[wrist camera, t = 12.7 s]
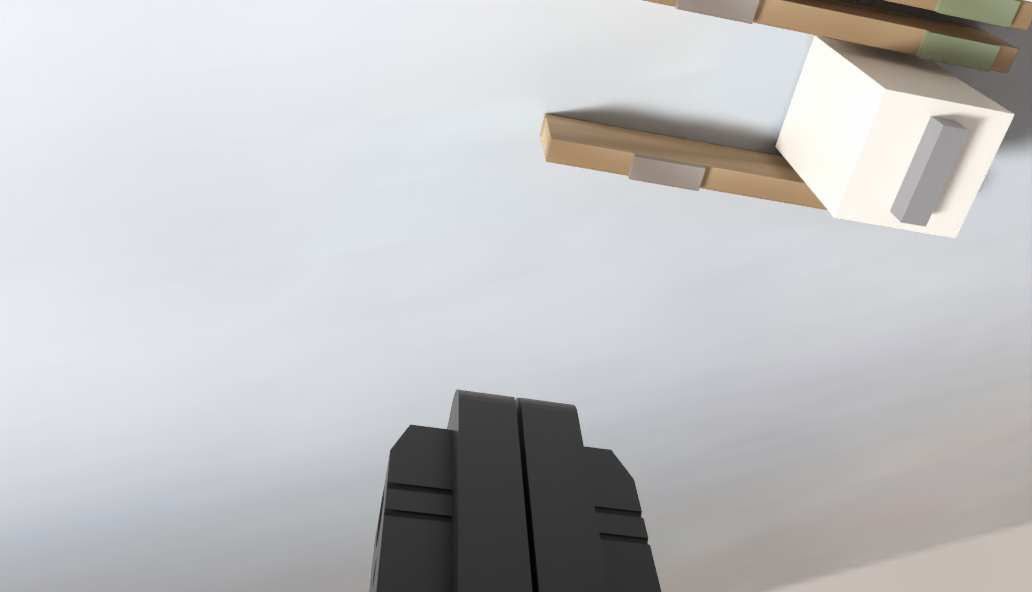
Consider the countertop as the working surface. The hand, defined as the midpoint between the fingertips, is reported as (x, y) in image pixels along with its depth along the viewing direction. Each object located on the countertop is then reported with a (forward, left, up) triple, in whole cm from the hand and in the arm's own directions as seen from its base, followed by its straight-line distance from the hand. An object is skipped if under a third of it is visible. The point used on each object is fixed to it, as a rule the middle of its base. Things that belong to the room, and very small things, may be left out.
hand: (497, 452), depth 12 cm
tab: (0, +13, -22) cm, 26 cm away
